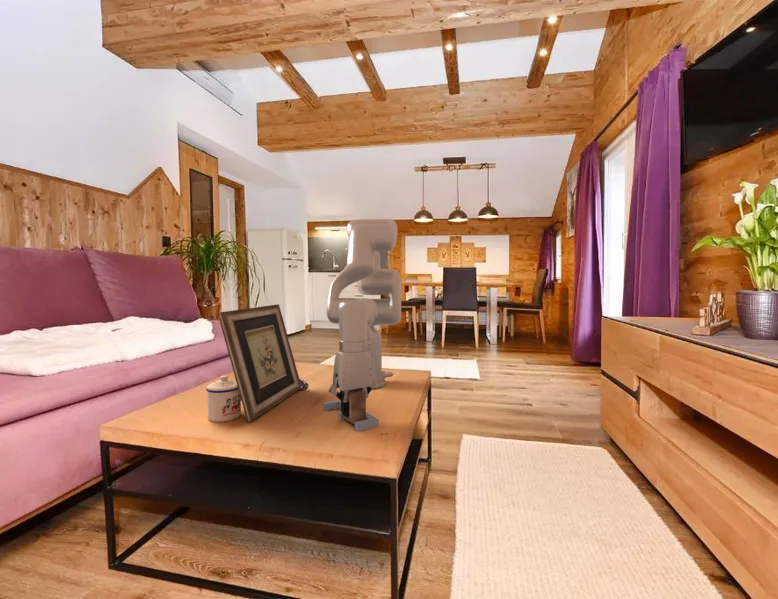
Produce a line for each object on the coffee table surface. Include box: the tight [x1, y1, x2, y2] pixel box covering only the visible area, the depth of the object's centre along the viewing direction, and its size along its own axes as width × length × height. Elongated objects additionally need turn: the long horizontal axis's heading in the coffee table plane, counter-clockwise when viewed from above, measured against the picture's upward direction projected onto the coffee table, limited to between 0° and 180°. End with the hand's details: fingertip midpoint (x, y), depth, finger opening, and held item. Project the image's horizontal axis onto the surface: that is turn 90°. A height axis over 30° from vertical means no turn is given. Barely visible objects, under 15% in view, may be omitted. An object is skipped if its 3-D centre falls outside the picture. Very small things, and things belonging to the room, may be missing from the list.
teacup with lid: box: [205, 375, 242, 423], centre depth 111 cm, size 12×9×12 cm
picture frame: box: [217, 304, 302, 423], centre depth 122 cm, size 33×10×30 cm, turn 168°
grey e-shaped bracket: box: [323, 399, 380, 432], centre depth 110 cm, size 6×20×2 cm, turn 34°
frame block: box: [342, 389, 367, 425], centre depth 105 cm, size 4×6×8 cm
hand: (353, 413), depth 105 cm, fingers closed on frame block, 4 cm apart
